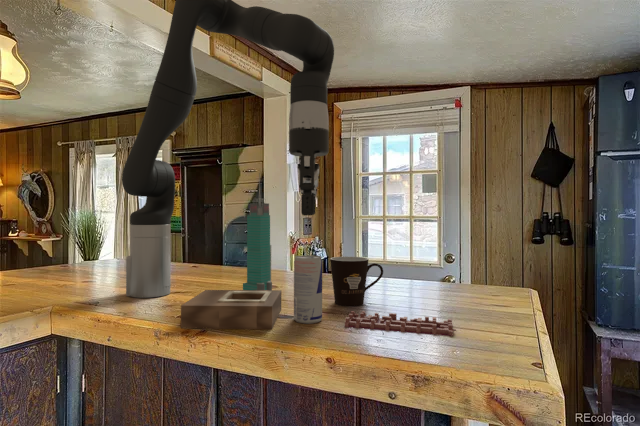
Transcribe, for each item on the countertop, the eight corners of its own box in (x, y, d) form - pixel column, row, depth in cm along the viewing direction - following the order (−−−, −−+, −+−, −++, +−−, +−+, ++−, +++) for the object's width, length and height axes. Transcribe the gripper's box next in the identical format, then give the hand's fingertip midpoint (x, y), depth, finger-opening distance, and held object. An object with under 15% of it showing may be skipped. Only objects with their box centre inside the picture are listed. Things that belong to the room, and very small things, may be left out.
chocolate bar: (457, 339, 66) (457, 328, 66) (344, 330, 71) (344, 319, 71) (455, 327, 73) (455, 316, 73) (352, 319, 78) (352, 309, 78)
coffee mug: (326, 306, 86) (326, 260, 86) (334, 298, 95) (334, 256, 95) (380, 309, 84) (380, 262, 84) (383, 300, 92) (383, 257, 92)
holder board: (181, 328, 70) (181, 303, 70) (205, 308, 84) (205, 288, 84) (271, 329, 70) (272, 304, 69) (281, 309, 84) (281, 288, 83)
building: (276, 294, 99) (277, 173, 99) (261, 298, 93) (261, 171, 93) (258, 291, 102) (258, 174, 102) (241, 296, 97) (242, 172, 97)
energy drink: (325, 317, 77) (325, 255, 77) (317, 325, 72) (317, 258, 72) (299, 315, 79) (299, 254, 79) (289, 322, 74) (290, 257, 73)
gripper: (292, 136, 83) (292, 214, 83) (285, 121, 68) (285, 215, 68) (328, 136, 82) (328, 215, 82) (328, 120, 68) (328, 215, 68)
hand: (308, 215), depth 75 cm, fingers open, 8 cm apart
